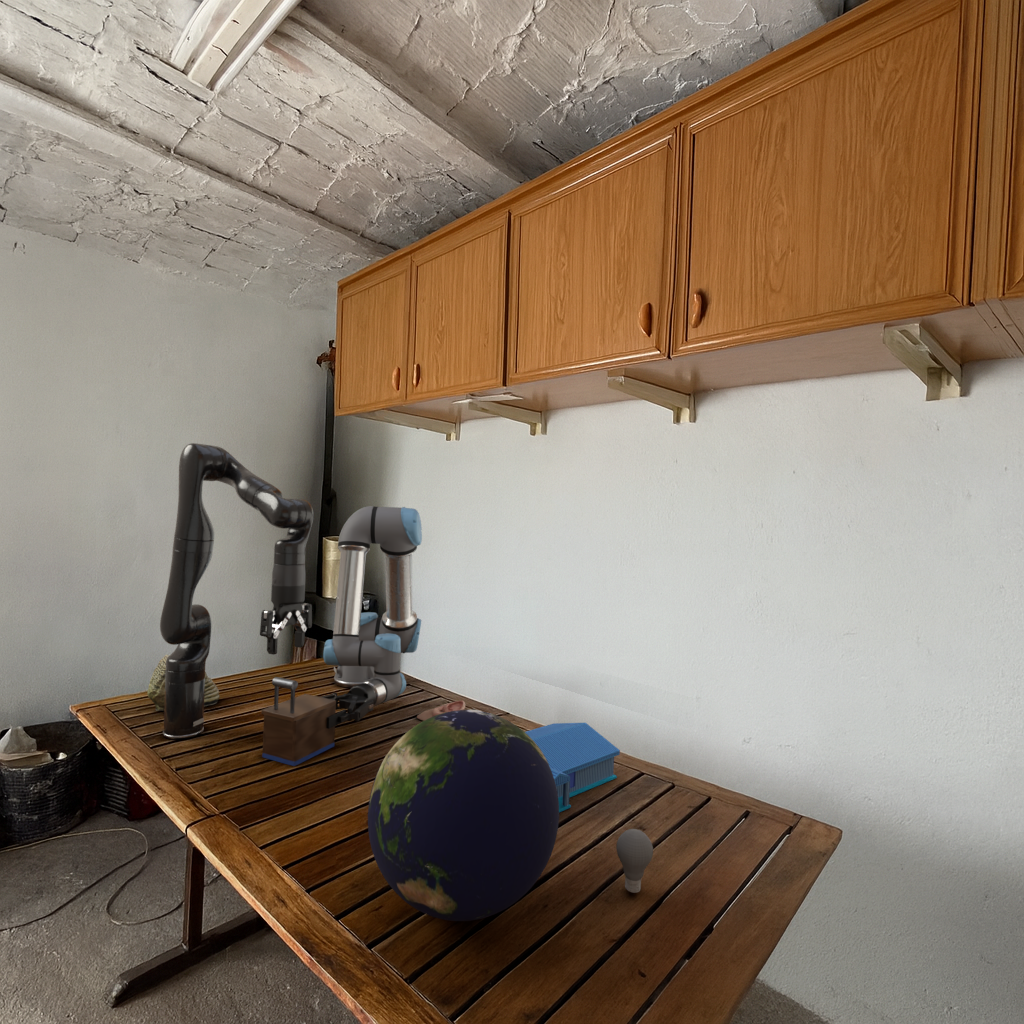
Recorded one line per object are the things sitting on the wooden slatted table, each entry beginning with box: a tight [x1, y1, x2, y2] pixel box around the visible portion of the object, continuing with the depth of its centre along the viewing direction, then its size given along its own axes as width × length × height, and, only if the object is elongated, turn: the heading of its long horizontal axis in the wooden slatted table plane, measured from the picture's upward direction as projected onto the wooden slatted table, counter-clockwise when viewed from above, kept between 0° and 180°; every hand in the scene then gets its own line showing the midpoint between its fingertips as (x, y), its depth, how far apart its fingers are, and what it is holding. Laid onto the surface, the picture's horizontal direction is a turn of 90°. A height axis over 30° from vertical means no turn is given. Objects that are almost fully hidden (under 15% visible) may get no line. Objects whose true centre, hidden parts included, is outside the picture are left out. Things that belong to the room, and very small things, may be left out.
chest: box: [261, 704, 337, 767], centre depth 156 cm, size 14×10×11 cm
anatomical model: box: [416, 700, 466, 722], centre depth 185 cm, size 13×4×12 cm
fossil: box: [147, 654, 221, 712], centre depth 185 cm, size 9×18×15 cm, turn 132°
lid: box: [260, 676, 336, 722], centre depth 156 cm, size 15×10×9 cm
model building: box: [524, 722, 621, 813], centre depth 143 cm, size 39×24×10 cm, turn 132°
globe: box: [367, 709, 560, 922], centre depth 100 cm, size 30×30×30 cm
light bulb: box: [615, 828, 654, 894], centre depth 106 cm, size 6×6×10 cm
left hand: (286, 650), depth 151 cm, fingers open, 8 cm apart
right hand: (311, 719), depth 160 cm, fingers closed on chest, 10 cm apart
